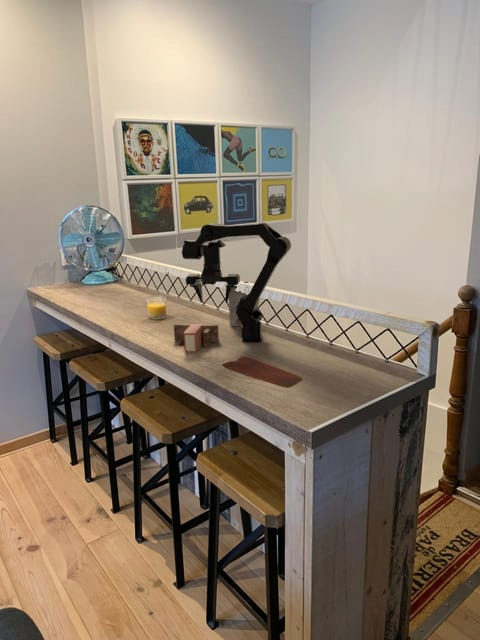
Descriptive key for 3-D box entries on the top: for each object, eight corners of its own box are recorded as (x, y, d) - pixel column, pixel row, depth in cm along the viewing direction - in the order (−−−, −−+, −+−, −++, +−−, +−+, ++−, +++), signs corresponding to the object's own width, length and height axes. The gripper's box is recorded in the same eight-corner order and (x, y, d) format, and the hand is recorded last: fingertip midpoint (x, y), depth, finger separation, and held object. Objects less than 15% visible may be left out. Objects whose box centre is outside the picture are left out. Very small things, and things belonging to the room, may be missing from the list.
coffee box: (234, 319, 202) (232, 281, 198) (249, 320, 201) (248, 281, 196) (229, 326, 193) (227, 286, 189) (245, 326, 192) (244, 286, 188)
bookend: (191, 340, 178) (190, 327, 176) (187, 345, 172) (186, 332, 171) (183, 340, 178) (182, 327, 177) (179, 345, 173) (178, 331, 172)
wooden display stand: (218, 340, 177) (218, 324, 175) (214, 346, 171) (214, 330, 169) (176, 339, 180) (174, 323, 178) (170, 345, 173) (169, 329, 172)
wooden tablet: (220, 367, 154) (220, 362, 153) (243, 358, 160) (243, 354, 160) (285, 391, 135) (285, 386, 135) (307, 380, 142) (307, 375, 141)
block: (203, 343, 175) (202, 324, 173) (196, 353, 165) (195, 333, 163) (192, 342, 176) (191, 324, 174) (184, 352, 166) (183, 333, 164)
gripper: (180, 263, 167) (182, 308, 171) (234, 263, 164) (235, 308, 168) (188, 258, 177) (191, 300, 182) (239, 258, 174) (240, 300, 179)
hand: (214, 302), depth 177 cm, fingers open, 9 cm apart
